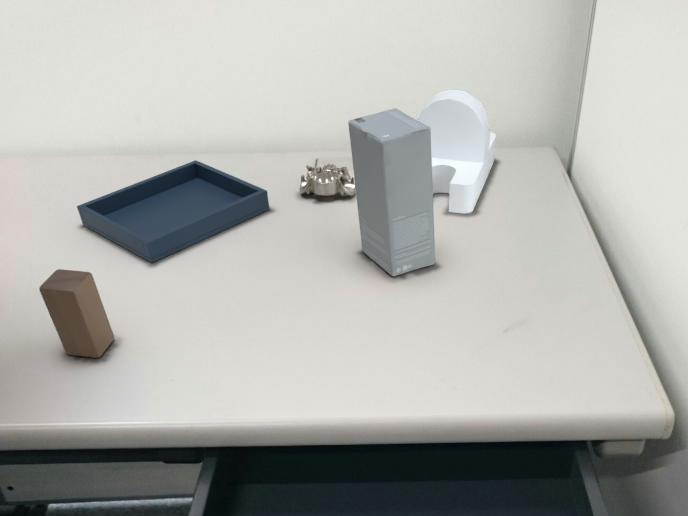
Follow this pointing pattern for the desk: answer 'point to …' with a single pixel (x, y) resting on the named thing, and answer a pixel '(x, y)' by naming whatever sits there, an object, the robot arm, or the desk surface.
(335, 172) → the ornament
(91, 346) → the wooden block
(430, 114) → the bracket
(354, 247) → the desk surface
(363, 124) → the cosmetic box
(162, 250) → the tray
